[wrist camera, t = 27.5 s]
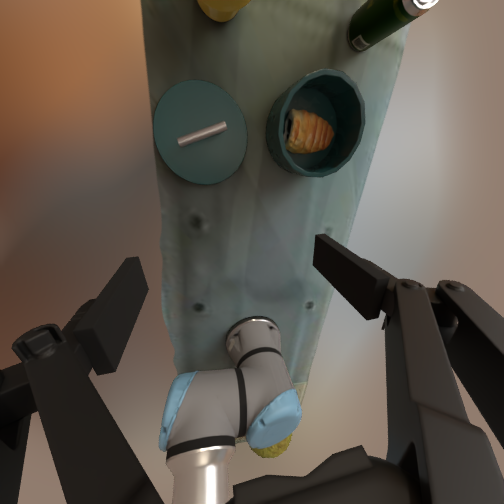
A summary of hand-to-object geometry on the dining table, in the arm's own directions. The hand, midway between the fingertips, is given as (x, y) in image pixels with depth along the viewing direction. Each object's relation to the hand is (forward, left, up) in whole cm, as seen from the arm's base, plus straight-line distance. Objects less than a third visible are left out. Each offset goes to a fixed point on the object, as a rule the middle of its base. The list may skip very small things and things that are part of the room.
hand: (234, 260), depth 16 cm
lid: (+10, +1, -28) cm, 29 cm away
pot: (+10, -18, -28) cm, 35 cm away
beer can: (+24, -27, -29) cm, 46 cm away
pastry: (+10, -17, -28) cm, 34 cm away
